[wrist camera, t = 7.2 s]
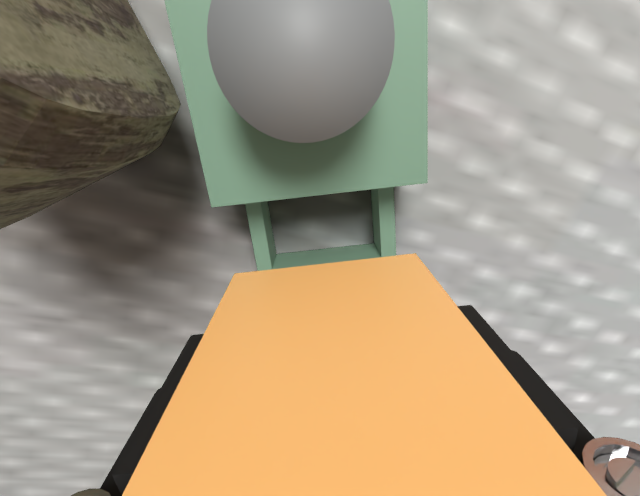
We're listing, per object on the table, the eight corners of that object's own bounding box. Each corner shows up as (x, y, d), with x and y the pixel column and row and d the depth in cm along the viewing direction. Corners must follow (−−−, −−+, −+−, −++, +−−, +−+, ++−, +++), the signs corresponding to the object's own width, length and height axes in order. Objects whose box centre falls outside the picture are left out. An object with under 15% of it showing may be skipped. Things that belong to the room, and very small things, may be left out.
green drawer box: (396, 3, 21) (465, -96, 11) (402, 252, 26) (452, 322, 17) (202, 27, 21) (114, -51, 12) (250, 268, 27) (217, 348, 17)
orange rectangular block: (415, 253, 11) (744, 668, 3) (417, 395, 13) (603, 879, 5) (234, 273, 11) (0, 735, 3) (265, 411, 13) (184, 911, 5)
